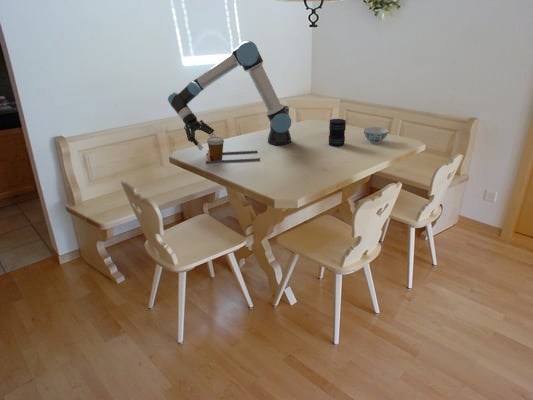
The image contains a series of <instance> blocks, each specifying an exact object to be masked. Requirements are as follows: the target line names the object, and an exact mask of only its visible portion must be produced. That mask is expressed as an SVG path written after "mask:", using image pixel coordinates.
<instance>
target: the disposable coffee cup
mask: <svg viewBox="0 0 533 400" xmlns="http://www.w3.org/2000/svg"><path fill="white" fill-rule="evenodd" d="M224 142H225V140H224V138H223V137H221V136H216V137H211V138H210V137H208V138H207V140H206V143H207V145H208V146H207V147H208V150H209V152H210V158H211V159H210V161H216V160H223V155H222V154H223V152H224Z"/></svg>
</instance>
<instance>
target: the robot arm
mask: <svg viewBox="0 0 533 400" xmlns="http://www.w3.org/2000/svg"><path fill="white" fill-rule="evenodd" d="M263 64H264V60H263V58H262V56H261V54H260V52H259V48H258V47H257V44H255V43H254V42H253V41H250V40H245V41H243V42H240V44H239V45H238V46H237V47H236V48H235V49H234V50H232V51H231V54H229V55H227V57H225V58H224V59H222V60H221V61H219V62H218V63H217V64H215V65H214V66H212V67H211V68H209V69H207V71H205V72H203V73H202V74H200V75H199V76H198V77H196V78H195V79H193V80H192V81H190V82H188V84H187V85H186V86H185V87H184V88H183V89H182V90H181V91H179V92H178V91H177V92H176V91H175V92H173V93H171V94H169V96H168V97H167V102H168V103H169V105H170V106H171V108H172V109H173V110H174V112H175V113H176V114H177V115H178V117H180V119H181V121H182V122H183V123H184V127H183V129H184V130H185V133H186V134H185V135H186V137H187V141H188V142H190V143H193V144H194V146H196V147H197V149H198V150H199V151H202V150H203V148H204V147H203V145H202V144H201V143H200V141H199V140H198V138H196V131H201V132H204V133H206V134H208V135H209V138H211V137H217V136H216V135H215V134H214V132H215V129H213V128H212V127H211V126H209V124H207V123H205V122H204V121H203V119H200V120H199V121H198V118H197V116H196V115H195V114H194V112H193V111H192V110H191V108H190V107H189V106H188V104H189V103H190V102H191V101H192V100H193V99H195V98H196V97H197V96H199V94H200V93H201V92H202V91H204V90H205V89H207V88H208V87H210V86H211V85H213V84H214V83H215V82H217V81H218V80H220V79H221V78H223V77H224V76H226V75H227V74H229V73H230V72H232V71H233V70H235V69H236V68H238V67H242V69H243V70H244V72H246V73H248V75H249V76H250V79H251V80H252V83H253V84H254V87H255V89H256V91H257V93H258V95H259V97H260V98H261V100H262V103H263V105H264V107H265V108H266V109H265V110H266V117H267V119H268V120H269V126H270V130H269V132H268V137H267V143H268V144H270V145H275V146H276V145H277V146H282V145H288V144H291V143H292V136H291V132H290V130H289V129H290V128H291V126H292V119H291V116H290V112H289V111H290V108H289V105H287V104H286V105H285V104H283V103H282V104H281V102H280V100H279V98H278V95H277V94H276V91H275V89H274V87H273V85H272V83H271V80H270V79H269V76H268V75H267V72H266V71H265V68H264V66H263Z"/></svg>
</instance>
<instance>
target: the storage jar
mask: <svg viewBox="0 0 533 400" xmlns="http://www.w3.org/2000/svg"><path fill="white" fill-rule="evenodd" d="M346 123H347V121H346V119H344V118H332V119H329V126H328V128H329V134H328V146H330V147H335V148H336V147H337V148H338V147H339V148H340V147H343V146H345V140H346V138H345V137H346V136H345V132H346Z"/></svg>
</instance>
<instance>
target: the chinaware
mask: <svg viewBox="0 0 533 400" xmlns="http://www.w3.org/2000/svg"><path fill="white" fill-rule="evenodd" d="M388 134H389V130H388V129H387V128H385V127H377V126H369V127H365V128H363V135H364V137H365V139H366V140H368V141H369V143H370V144H375V145H377V144H381V142H382V141H383V140H385V139H386V137H387V136H388Z"/></svg>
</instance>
